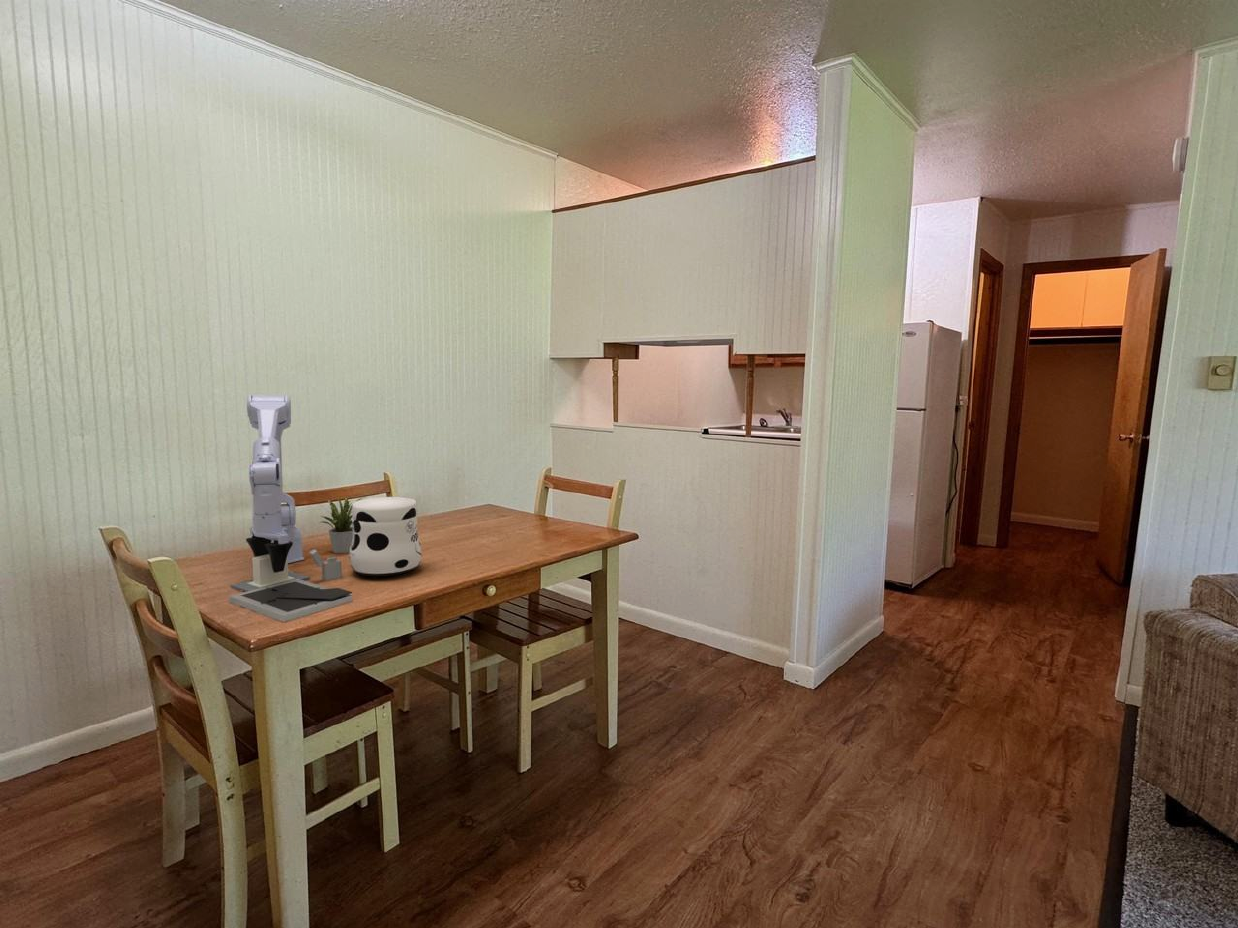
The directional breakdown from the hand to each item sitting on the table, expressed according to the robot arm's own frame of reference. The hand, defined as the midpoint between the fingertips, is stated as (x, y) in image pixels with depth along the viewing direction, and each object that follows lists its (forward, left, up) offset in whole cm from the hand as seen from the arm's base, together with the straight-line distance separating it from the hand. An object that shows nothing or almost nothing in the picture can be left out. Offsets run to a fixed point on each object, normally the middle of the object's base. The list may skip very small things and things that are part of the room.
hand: (270, 568), depth 156 cm
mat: (0, 0, -4) cm, 4 cm away
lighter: (-9, +8, -4) cm, 13 cm away
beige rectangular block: (0, 0, -3) cm, 3 cm away
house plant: (-29, -11, -4) cm, 31 cm away
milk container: (-22, +14, -4) cm, 26 cm away
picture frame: (+5, +16, -4) cm, 17 cm away
